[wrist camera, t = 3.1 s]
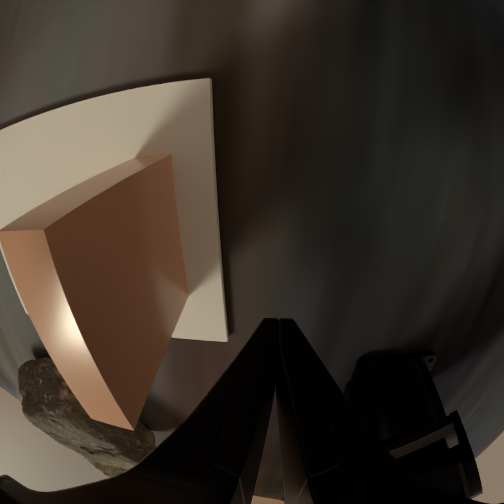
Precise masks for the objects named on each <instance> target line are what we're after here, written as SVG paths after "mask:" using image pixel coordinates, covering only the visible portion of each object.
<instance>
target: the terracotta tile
mask: <svg viewBox="0 0 504 504" xmlns="http://www.w3.org/2000/svg"><path fill="white" fill-rule="evenodd" d="M0 242H1V245H2V248H3V251H4V254H5V257H6V260H7V263H8V266H9V269H10V271H11V274H12V277H13V279H14V282H15V284H16V287H17V289H18V292H19V294H20V296H21V299H22V301H23V303H24V305H25V308H26V310H27V312H28V314H29V316H30V318H31V320H32V323H33V325H34V327H35V329H36V331H37V333H38V334H39V336H40V338H41V340H42V342H43V344H44V346H45V348H46V349H47V351H48V353H49V355H50V357H51V358H52V360H53V362H54V364H55V365H56V367H57V369H58V370H59V372H60V374H61V375H62V377H63V378H64V380H65V381H66V383H67V385H68V386H69V388H70V389H71V391H72V392H73V394H74V395H75V397H76V398H77V400H78V401H79V402H80V404H81V405H82V407H83V408H84V410H85V411H86V412H87V414H88V415H89V416H90V418H91V419H94V420H97V421H100V422H104V423H107V424H111V425H114V426H118V427H121V428H125V429H129V430H133V431H134V430H135V427H136V425H137V422H138V419H139V417H140V414H141V412H142V409H143V406H144V404H145V401H146V399H147V396H148V393H149V391H150V388H151V386H152V383H153V381H154V378H155V376H156V373H157V371H158V368H159V366H160V363H161V361H162V358H163V356H164V354H165V351H166V349H167V346H168V344H169V341H170V339H171V337H172V334H173V332H174V329H175V327H176V325H177V322H178V320H179V318H180V315H181V313H182V311H183V308H184V306H185V304H186V301H187V299H188V297H189V293H188V287H187V280H186V274H185V267H184V260H183V253H182V246H181V239H180V231H179V223H178V215H177V206H176V197H175V187H174V177H173V166H172V155H171V154H169V155H157V156H146V157H137V158H133V159H130V160H128V161H126V162H123V163H121V164H119V165H117V166H115V167H112V168H110V169H108V170H106V171H104V172H102V173H100V174H97V175H95V176H93V177H91V178H89V179H87V180H85V181H83V182H81V183H79V184H77V185H75V186H73V187H72V188H70V189H68V190H66V191H64V192H62V193H60V194H58V195H57V196H55V197H53V198H51V199H49V200H48V201H46V202H44V203H42V204H41V205H39V206H37V207H35V208H34V209H32V210H30V211H29V212H27V213H25V214H24V215H22V216H21V217H19V218H17V219H16V220H14V221H13V222H11V223H9V224H8V225H6V226H5V227H3V228H2V229H0Z"/></svg>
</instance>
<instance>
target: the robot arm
mask: <svg viewBox="0 0 504 504" xmlns="http://www.w3.org/2000/svg"><path fill="white" fill-rule="evenodd" d="M436 359H437V357H436V355H435V353H434V352H427V353H418V354H408V355H396V356H384V357H368V358H361V359H359V360H358V361H357V363H356V366H355V369H354V372H353V375H352V378H351V381H349V382H348V383H347V384H346V387H345V390H344V393H342V391H341V390H340V388H339V387H338V385H337V384H336V382H335V381H334V379H333V378H332V376H331V375H330V373H329V372H328V370H327V369H326V367H325V366H324V364H323V363H322V361H321V360H320V358H319V357H318V355H317V354H316V352H315V351H314V349H313V348H312V346H311V345H310V343H309V342H308V340H307V339H306V337H305V336H304V334H303V333H302V331H301V330H300V328H299V327H298V325H297V324H296V322H295V321H294V320H293V319H287V318H281V319H279V321H278V319H277V318H264V319H263V320H262V321H261V323H260V324H259V325H258V327H257V328H256V330H255V331H254V332H253V334H252V335H251V336H250V338H249V339H248V341H247V342H246V343H245V345H244V346H243V347H242V349H241V350H240V351H239V353H238V354H237V355H236V357H235V358H234V359H233V361H232V362H231V363H230V365H229V366H228V367H227V369H226V370H225V371H224V373H223V374H222V375H221V377H220V378H219V379H218V381H217V382H216V383H215V385H214V386H213V387H212V388H211V390H210V391H209V392H208V394H207V396H205V397H204V399H203V400H202V401H201V402H200V404H199V405H198V406H197V407H196V408H195V410H194V411H193V412H192V413H191V414H190V415H189V417H188V418H187V419H186V420H185V421H184V422H183V423H182V424H181V425H180V426H179V427H178V428H177V429H176V430H175V431H174V432H173V433H172V434H171V435H170V436H169V437H167V438H166V439H165V440H164V441H163V442H162V443H161V444H160V445H159V446H157V447H156V448H155V449H154V450H153V451H152V452H151V453H150V454H148V455H147V456H146V457H145V458H144V459H143V460H142V461H140V462H139V463H138V464H137V465H135V466H134V467H132V468H131V469H129V470H127V471H126V472H124V473H121V474H119V475H116V476H113V477H110V478H107V479H103V480H100V481H96V482H92V483H89V484H85V485H81V486H77V487H73V488H68V489H63V490H58V491H52V492H39V491H35V490H31V489H28V488H26V487H25V486H23V485H22V484H20V483H19V482H17V481H16V480H14V479H13V478H11V477H10V476H8V475H2V476H0V504H251V501H252V497H253V493H254V488H255V484H256V480H257V476H258V471H259V467H260V462H261V458H262V453H263V449H264V444H265V439H266V434H267V430H268V425H269V420H270V415H271V410H272V405H273V399H274V393H275V384H276V402H277V413H278V423H279V434H280V446H281V457H282V468H283V480H284V491H285V503H286V504H488V503H483V502H479V501H475V500H472V498H474V497H476V496H478V495H480V494H482V485H481V480H480V476H479V472H478V468H477V465H476V461H475V458H474V455H473V452H472V449H471V446H470V443H469V440H468V438H467V435H466V432H465V429H464V427H463V424H462V422H461V419H460V416H459V414H458V411H457V410H456V411H454V412H452V413H450V415H449V416H446V414H445V411H444V408H443V405H442V402H441V400H440V397H439V394H438V392H437V389H436V387H435V384H434V381H433V379H432V376H431V374H430V371H431V369H432V367H433V365H434V363H435V361H436ZM363 364H364V365H363ZM457 441H458V445H456V446H454V447H452V448H450V449H449V447H448V446H450V445H452V444H454V443H456V442H457ZM499 504H504V503H499Z"/></svg>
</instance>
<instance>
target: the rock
mask: <svg viewBox="0 0 504 504" xmlns="http://www.w3.org/2000/svg"><path fill="white" fill-rule="evenodd" d="M18 373H19V376H18V382H19V392H20V394H21V395H22V396H23V401H22V407H23V408H22V410H23V413H24V416H25V417H26V418H27V419H28V420H29V421H30V422H31V423H32V424H33V425H35V426H36V427H38V428H39V429H41V430H42V431H43V432H45V433H46V434H48V435H49V436H50V437H51V438H53V439H54V440H56V441H57V442H59V443H60V444H62V445H64V446H66V447H67V448H70V449H72V450H74V451H76V452H78V453H79V454H81V455H82V456H84V458H86V459H88V460H89V462H91V463H92V464H93V465H94V466H95V467H96V468H97V469H99V470H100V471H102V472H103V473H104V474H105V475H107V476H109V477H113V476H116V475H119V474H121V473H124V472H126V471H127V470H129V469H131V468H132V467H134V466H135V465H137V464H138V463H139V462H140V461H142V460H143V459H144V458H145V457H146V456H147V455H148V454H150V453H151V452H152V451H153V450H154V449H155V448H156V446H155V436H154V434H153V433H152V432H151V431H150V430H149V429H147V428H146V427H145V426H144V425H143V423H142V422H141V421H140V420H138V422H137V425H136V427H135V430H134V431H133V430H129V429H125V428H121V427H118V426H114V425H111V424H107V423H104V422H100V421H97V420H94V419H91V418H90V416H89V415H88V414H87V412H86V411H85V410H84V408H83V407H82V405H81V404H80V402H79V401H78V400H77V398H76V397H75V395H74V394H73V392H72V391H71V389H70V388H69V386H68V385H67V383H66V381H65V380H64V378H63V377H62V375H61V374H60V372H59V370H58V369H57V367H56V365H55V364H54V362H53V360H52V358H51V357H44V358H39V359H37V360H30V361H27V362H25V363H24V364H23V365H22V366H21V367H20V368H19V371H18Z"/></svg>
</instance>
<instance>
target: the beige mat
mask: <svg viewBox="0 0 504 504" xmlns="http://www.w3.org/2000/svg"><path fill="white" fill-rule="evenodd" d="M169 154H171V155H172V166H173V177H174V187H175V197H176V206H177V215H178V223H179V231H180V239H181V246H182V253H183V260H184V267H185V274H186V280H187V287H188V293H189V297H188V299H187V301H186V304H185V306H184V308H183V311H182V313H181V315H180V318H179V320H178V322H177V325H176V327H175V329H174V332H173V334H172V337H173V338H184V339H195V340H208V341H222V342H227V341H228V326H227V316H226V305H225V293H224V282H223V270H222V257H221V244H220V230H219V215H218V200H217V184H216V166H215V147H214V125H213V100H212V79H210V78H205V79H195V80H186V81H178V82H171V83H164V84H157V85H151V86H146V87H140V88H135V89H130V90H125V91H120V92H116V93H111V94H107V95H103V96H99V97H95V98H91V99H87V100H84V101H80V102H77V103H73V104H70V105H66V106H63V107H60V108H57V109H54V110H51V111H48V112H45V113H42V114H39V115H36V116H34V117H31V118H28V119H26V120H23V121H21V122H18V123H16V124H13V125H11V126H8V127H6V128H4V129H1V130H0V229H2V228H3V227H5V226H6V225H8V224H9V223H11V222H13V221H14V220H16V219H17V218H19V217H21V216H22V215H24V214H25V213H27V212H29V211H30V210H32V209H34V208H35V207H37V206H39V205H41V204H42V203H44V202H46V201H48V200H49V199H51V198H53V197H55V196H57V195H58V194H60V193H62V192H64V191H66V190H68V189H70V188H72V187H73V186H75V185H77V184H79V183H81V182H83V181H85V180H87V179H89V178H91V177H93V176H95V175H97V174H100V173H102V172H104V171H106V170H108V169H110V168H112V167H115V166H117V165H119V164H121V163H123V162H126V161H128V160H130V159H133V158H137V157H146V156H157V155H169ZM0 249H1V252H2V255H3V257H4V260H5V263H6V266H7V269H8V271H9V274H10V277H11V279H12V282H13V284H14V287H15V289H16V291H17V294H18V296H19V299H20V301H21V303H22V305H23V308H24V310H25V312H26V314H28V312H27V310H26V308H25V305H24V303H23V301H22V299H21V296H20V294H19V292H18V289H17V287H16V284H15V282H14V279H13V277H12V274H11V271H10V269H9V266H8V263H7V260H6V257H5V254H4V251H3V248H2V245H1V242H0Z"/></svg>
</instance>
